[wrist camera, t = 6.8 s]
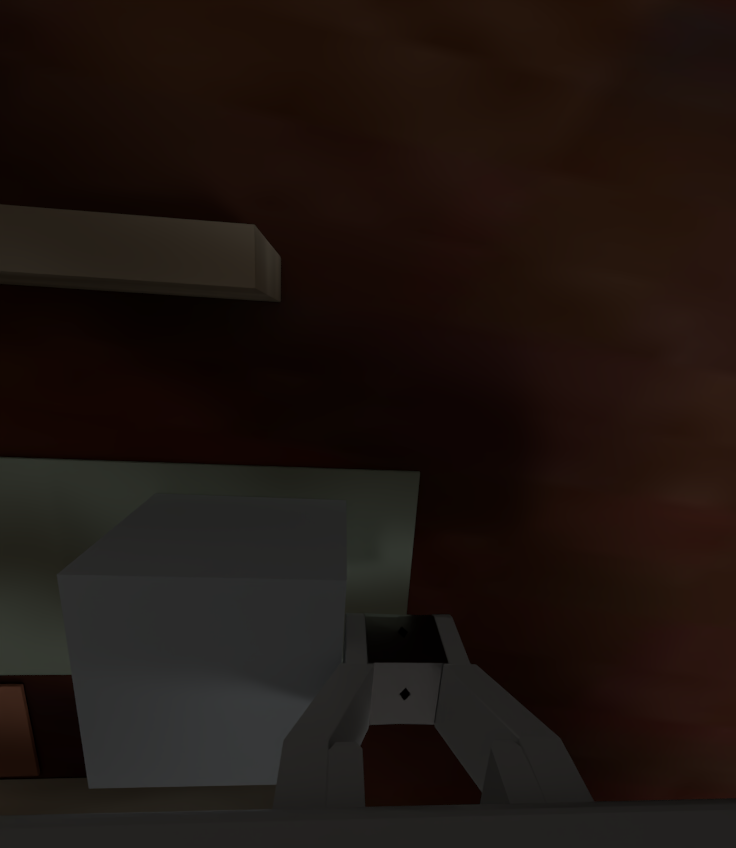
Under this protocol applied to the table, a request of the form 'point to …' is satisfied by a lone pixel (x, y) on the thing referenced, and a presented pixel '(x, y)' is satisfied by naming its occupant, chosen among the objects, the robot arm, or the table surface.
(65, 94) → the table surface
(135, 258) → the grey-green e-shaped frame
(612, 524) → the table surface
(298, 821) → the robot arm
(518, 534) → the table surface
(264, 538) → the block
